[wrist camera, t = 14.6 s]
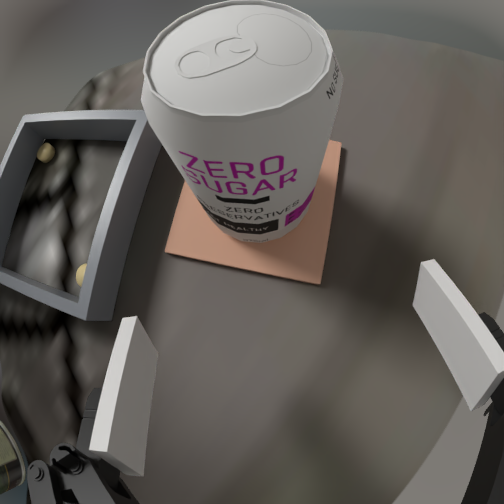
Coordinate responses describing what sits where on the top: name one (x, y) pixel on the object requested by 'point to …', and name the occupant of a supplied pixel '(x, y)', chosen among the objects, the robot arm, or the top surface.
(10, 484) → the coffee can
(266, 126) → the supplement can
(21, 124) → the parts tub
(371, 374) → the top surface
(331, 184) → the terracotta tile
